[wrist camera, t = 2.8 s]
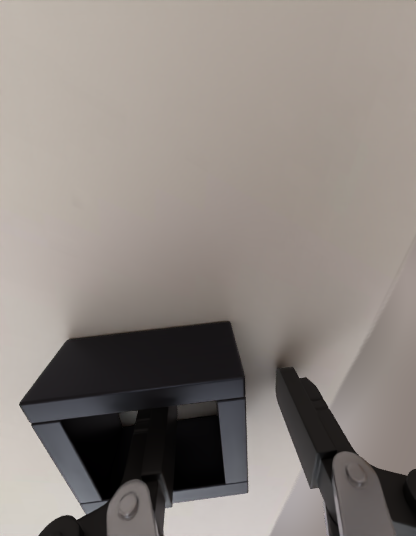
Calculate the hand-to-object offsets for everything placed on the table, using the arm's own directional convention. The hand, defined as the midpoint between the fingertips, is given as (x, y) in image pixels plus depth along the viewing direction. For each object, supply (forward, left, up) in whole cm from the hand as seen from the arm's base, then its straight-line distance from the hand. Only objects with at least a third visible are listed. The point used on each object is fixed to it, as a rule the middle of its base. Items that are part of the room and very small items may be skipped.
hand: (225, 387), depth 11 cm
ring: (+2, -2, 0) cm, 3 cm away
